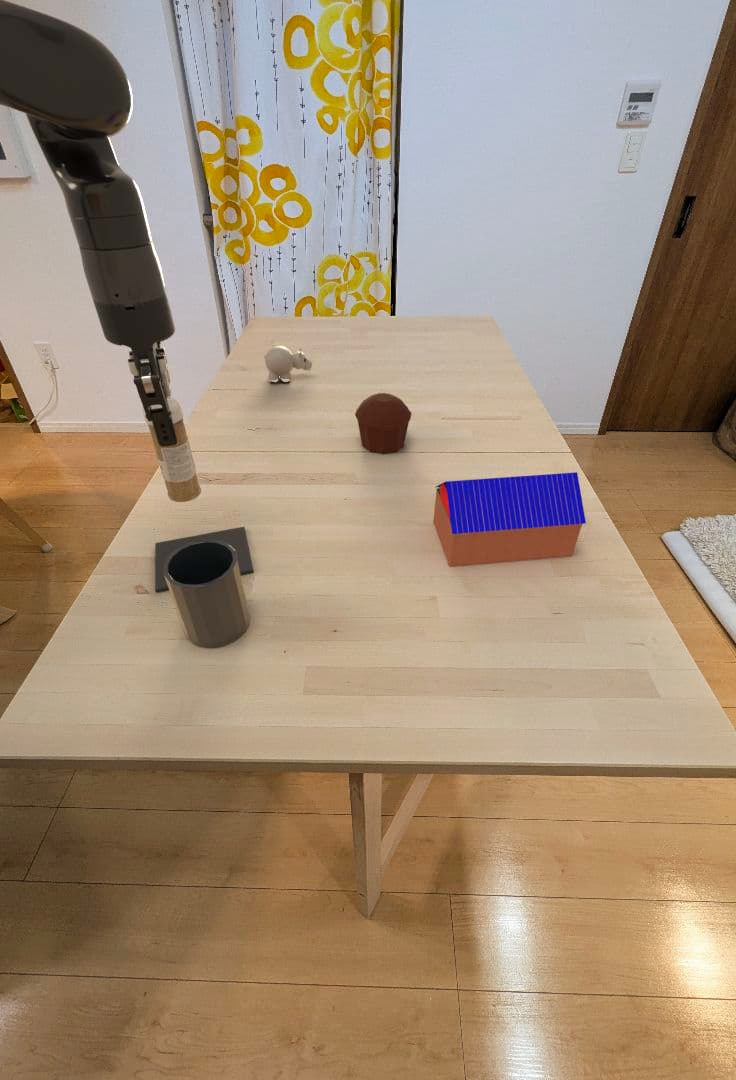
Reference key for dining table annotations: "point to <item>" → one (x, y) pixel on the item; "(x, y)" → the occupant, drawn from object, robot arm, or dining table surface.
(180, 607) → the cup
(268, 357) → the chubby cartoon animal
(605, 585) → the dining table surface
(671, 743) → the dining table surface
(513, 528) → the house
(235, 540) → the mat
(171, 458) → the sprinkles bottle
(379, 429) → the muffin
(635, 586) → the dining table surface
